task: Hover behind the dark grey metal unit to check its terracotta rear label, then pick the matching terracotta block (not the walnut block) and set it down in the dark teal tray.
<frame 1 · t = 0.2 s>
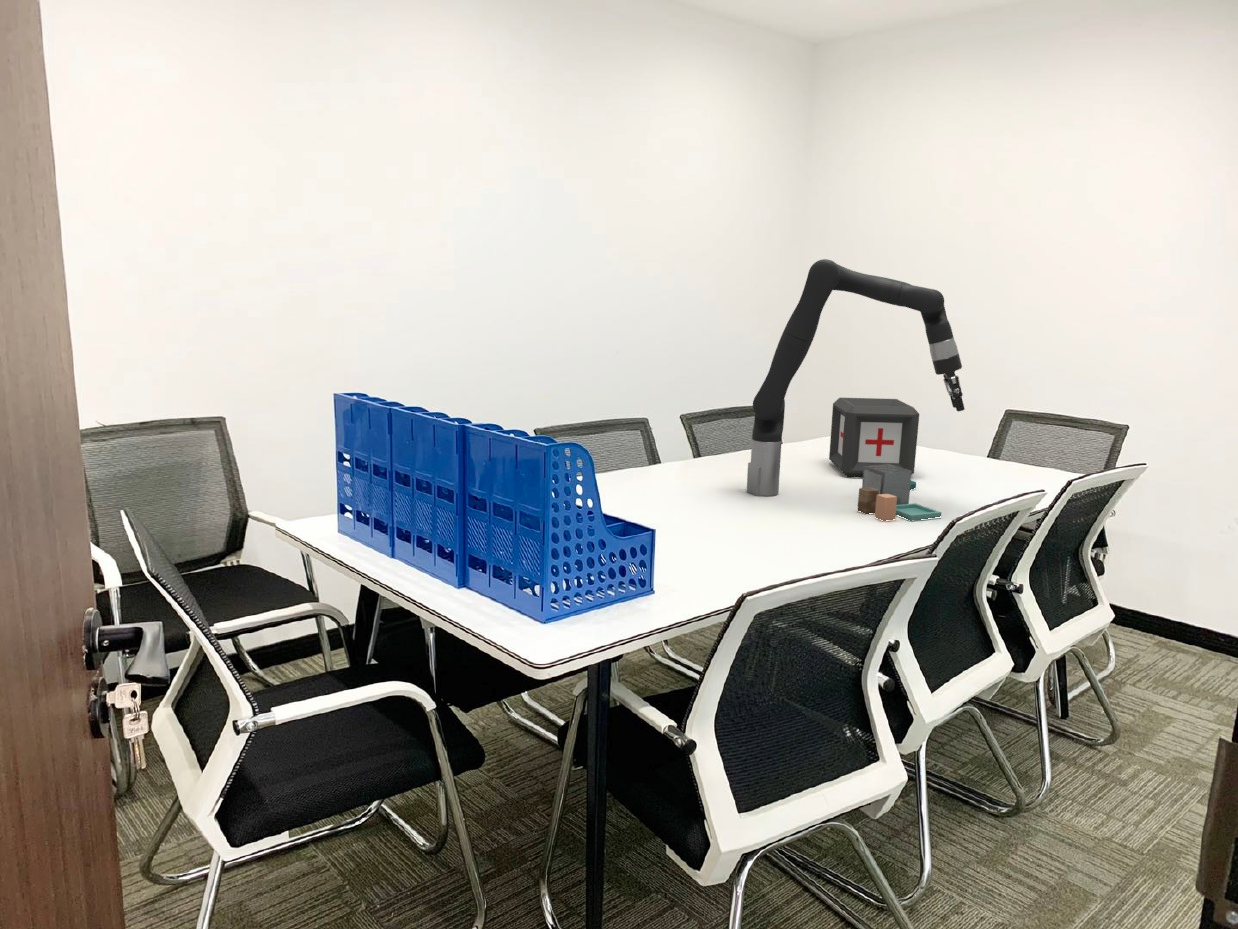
hand: (958, 408, 267), 31 cm above the table, tool tilted 20°, fingers open, 8 cm apart
first aid kit: (869, 472, 323), on the table
grey unit: (884, 503, 279), on the table
teal tray: (912, 515, 266), on the table
terracotta block: (884, 519, 260), on the table
walnut block: (867, 512, 268), on the table
bracket: (895, 491, 296), on the table
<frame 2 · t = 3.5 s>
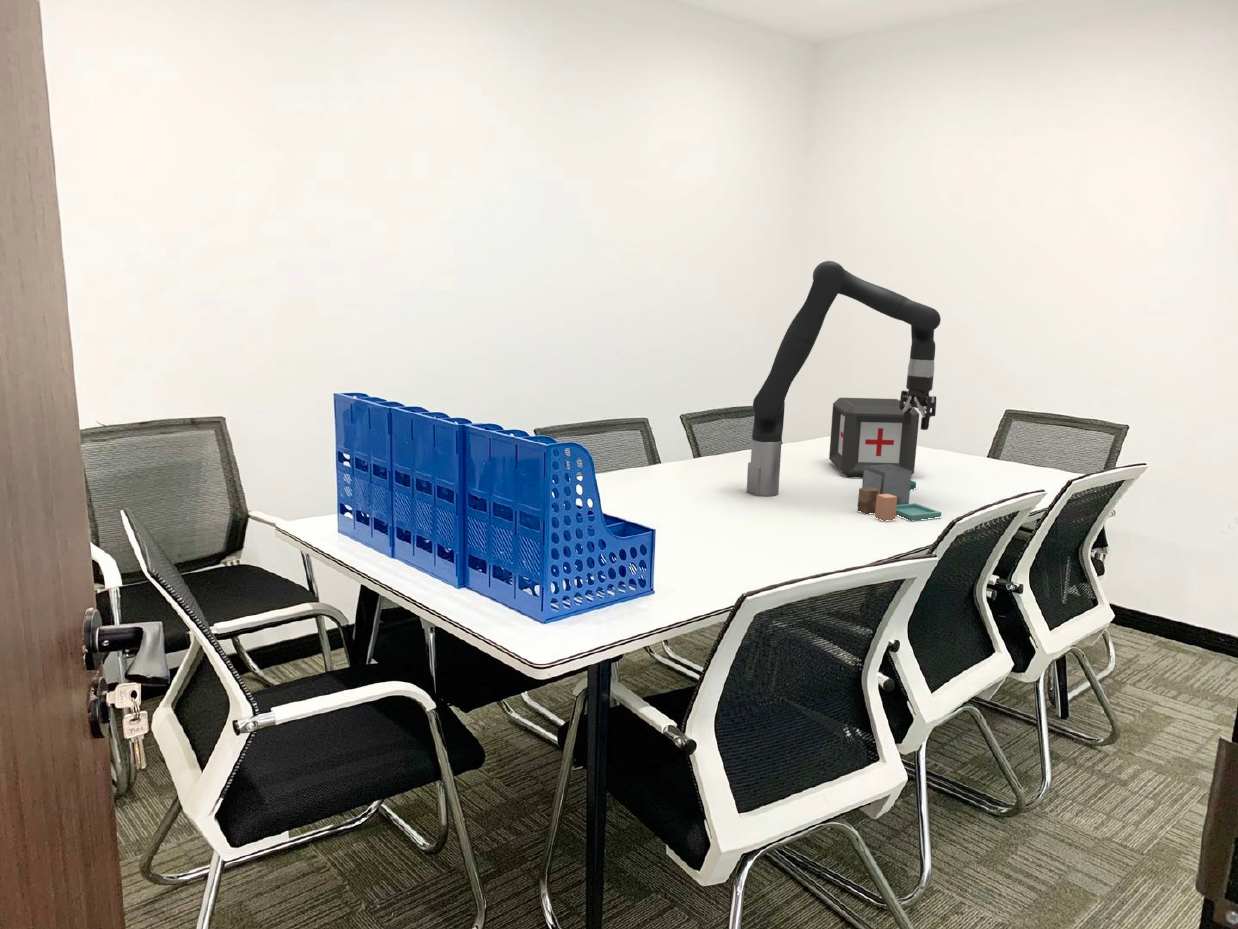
hand: (915, 427, 276), 23 cm above the table, tool pointing down, fingers open, 8 cm apart
nothing on the table moved.
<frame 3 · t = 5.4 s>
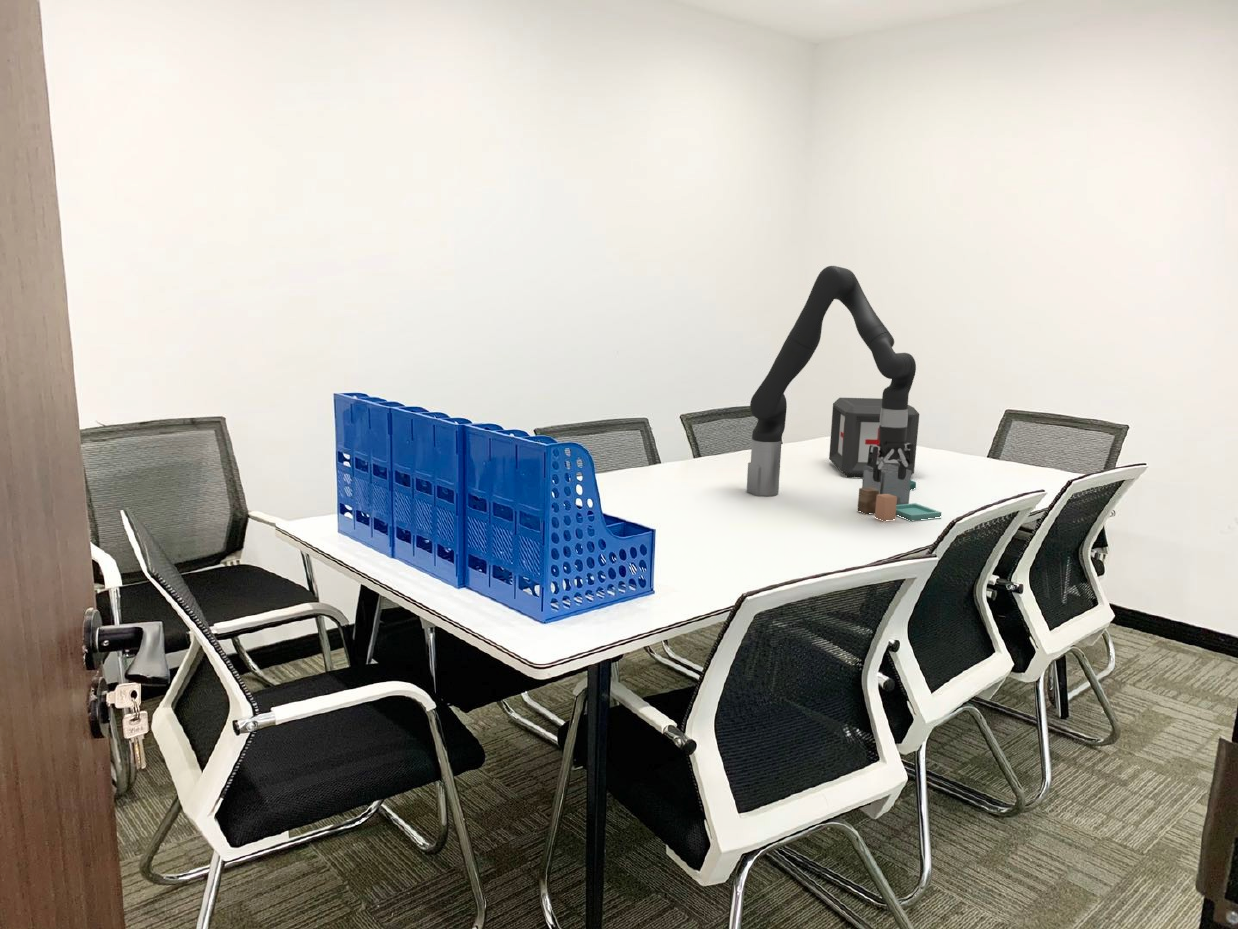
hand: (889, 480, 258), 11 cm above the table, tool pointing down, fingers open, 8 cm apart
nothing on the table moved.
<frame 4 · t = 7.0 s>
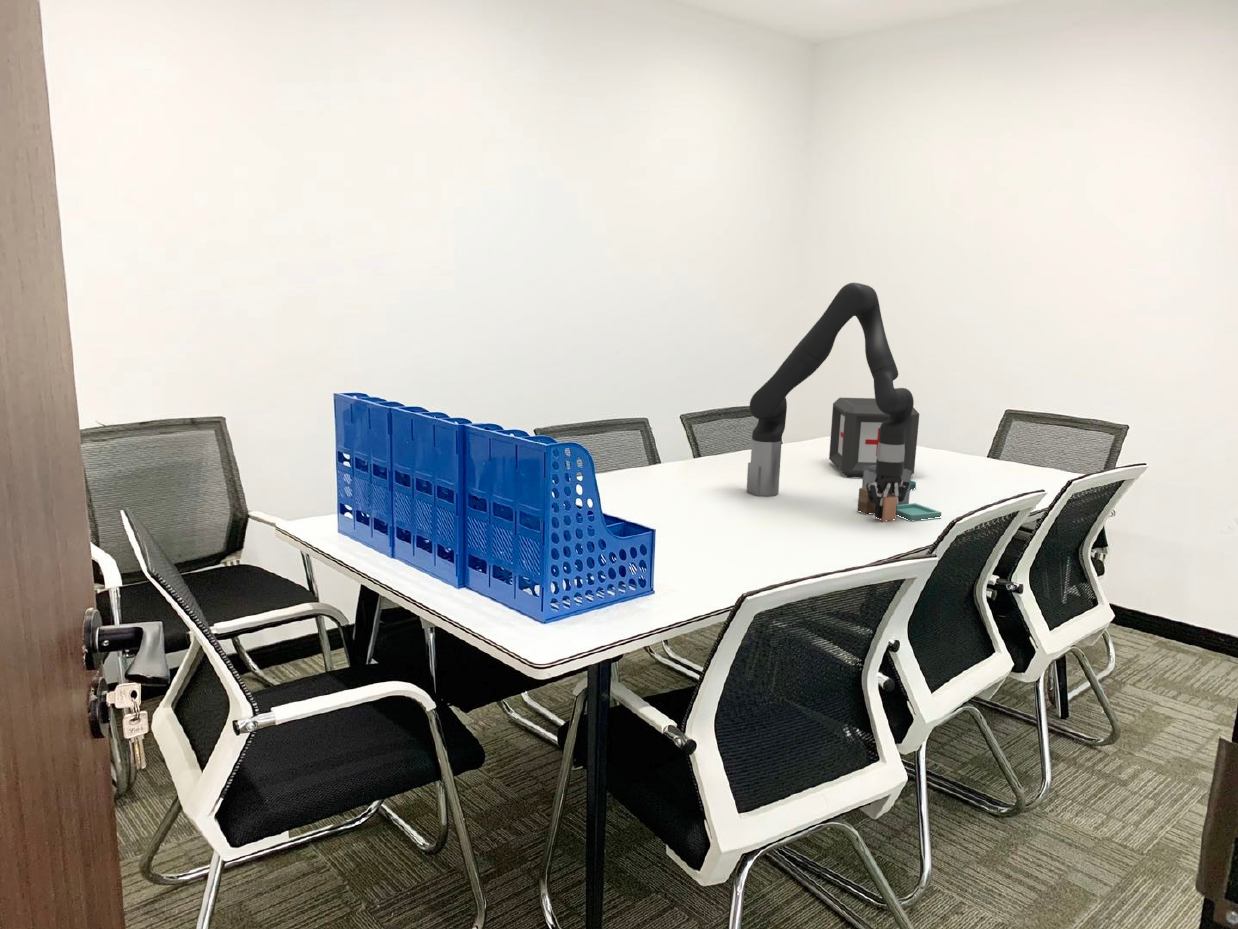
hand: (885, 516, 260), 1 cm above the table, tool pointing down, fingers closed on terracotta block, 4 cm apart
terracotta block: (884, 519, 260), on the table, touching gripper
everything else where it was.
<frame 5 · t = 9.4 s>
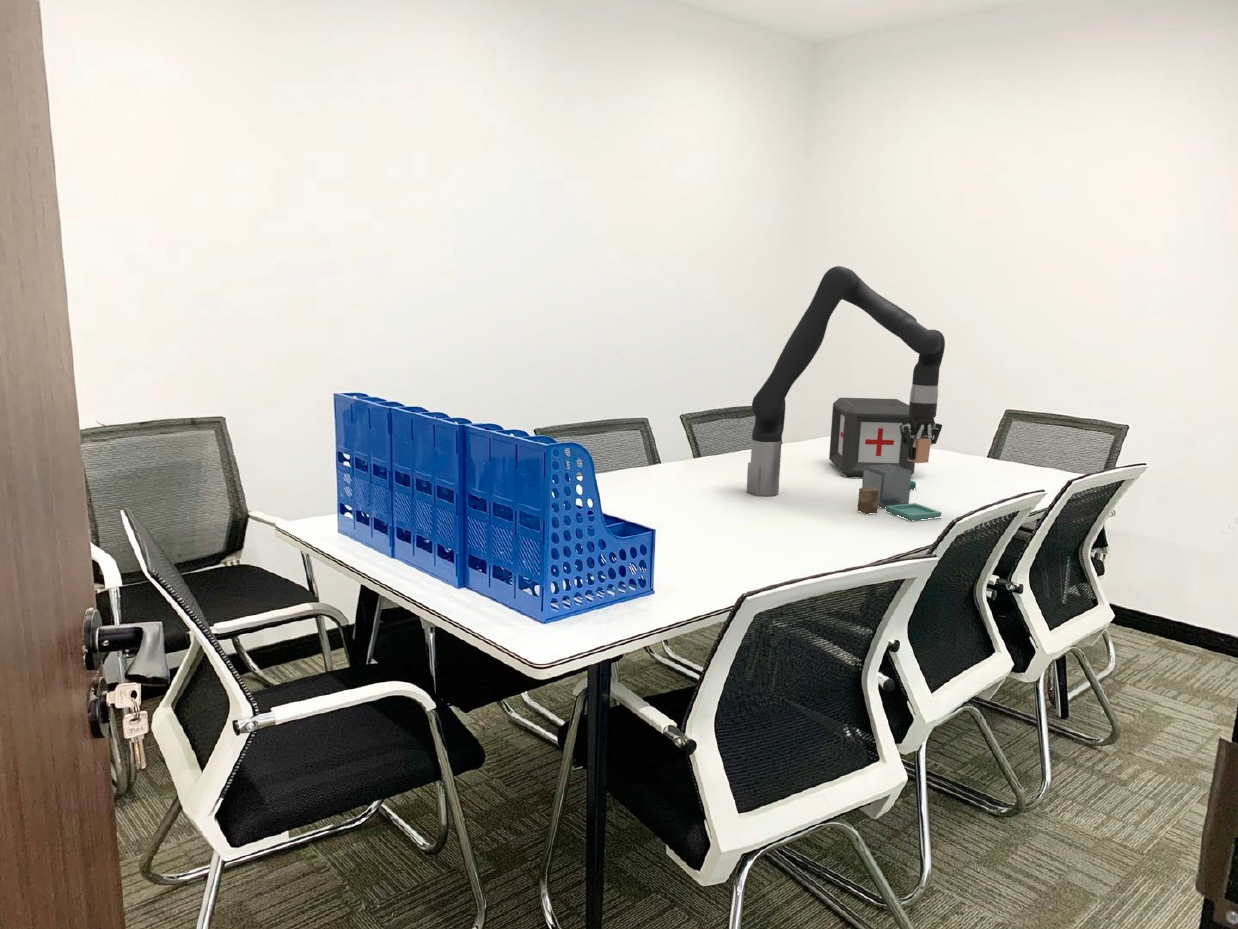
hand: (918, 458, 262), 17 cm above the table, tool pointing down, fingers closed on terracotta block, 4 cm apart
terracotta block: (917, 461, 262), point 16 cm above the table, touching gripper
everything else where it was.
when the fingers open (3 cm above the table, at t = 12.2 s): terracotta block drops 2 cm, resting on teal tray.
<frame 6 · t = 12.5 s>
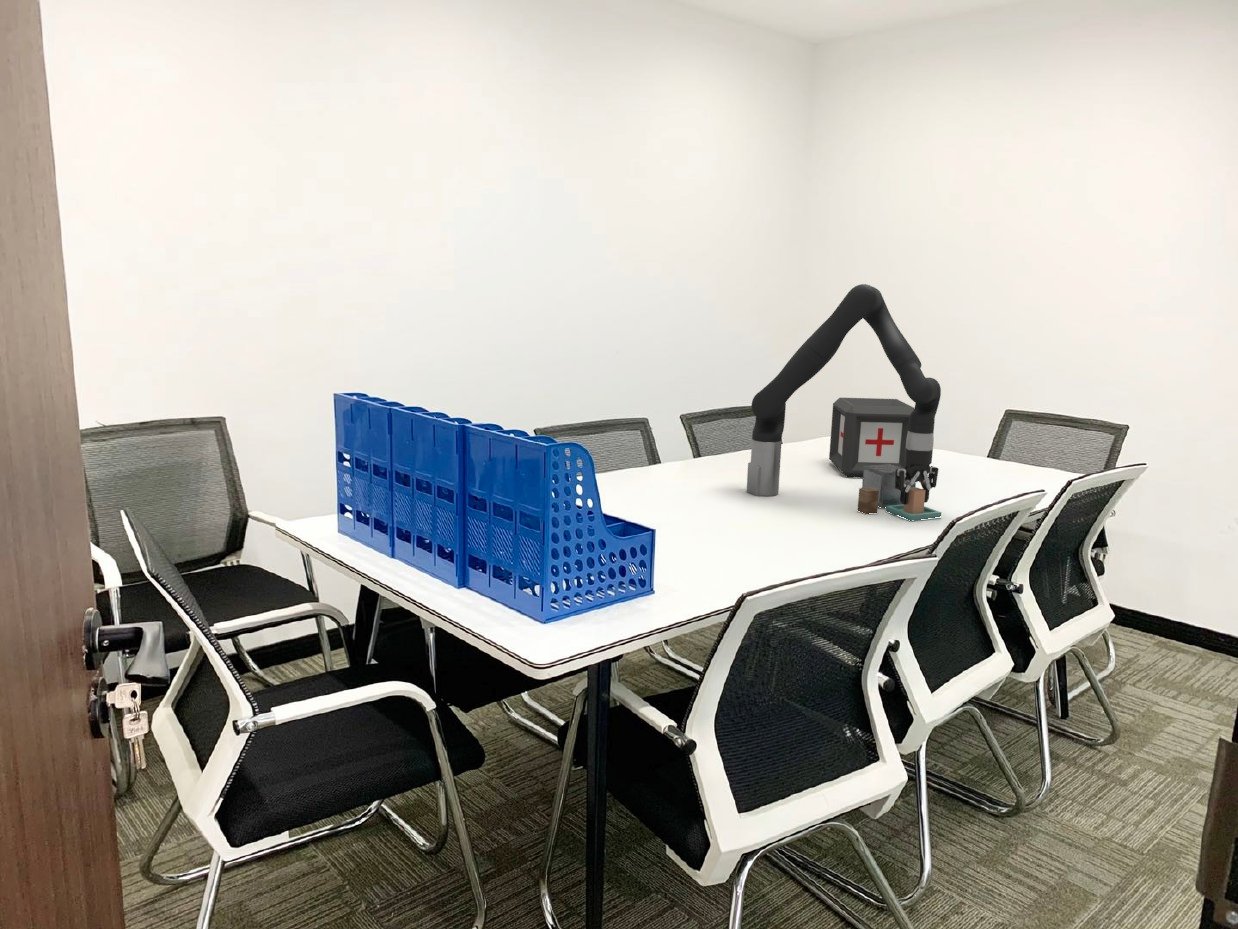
hand: (914, 502, 265), 4 cm above the table, tool pointing down, fingers open, 6 cm apart
terracotta block: (913, 512, 265), point 1 cm above the table, touching teal tray
everything else where it was.
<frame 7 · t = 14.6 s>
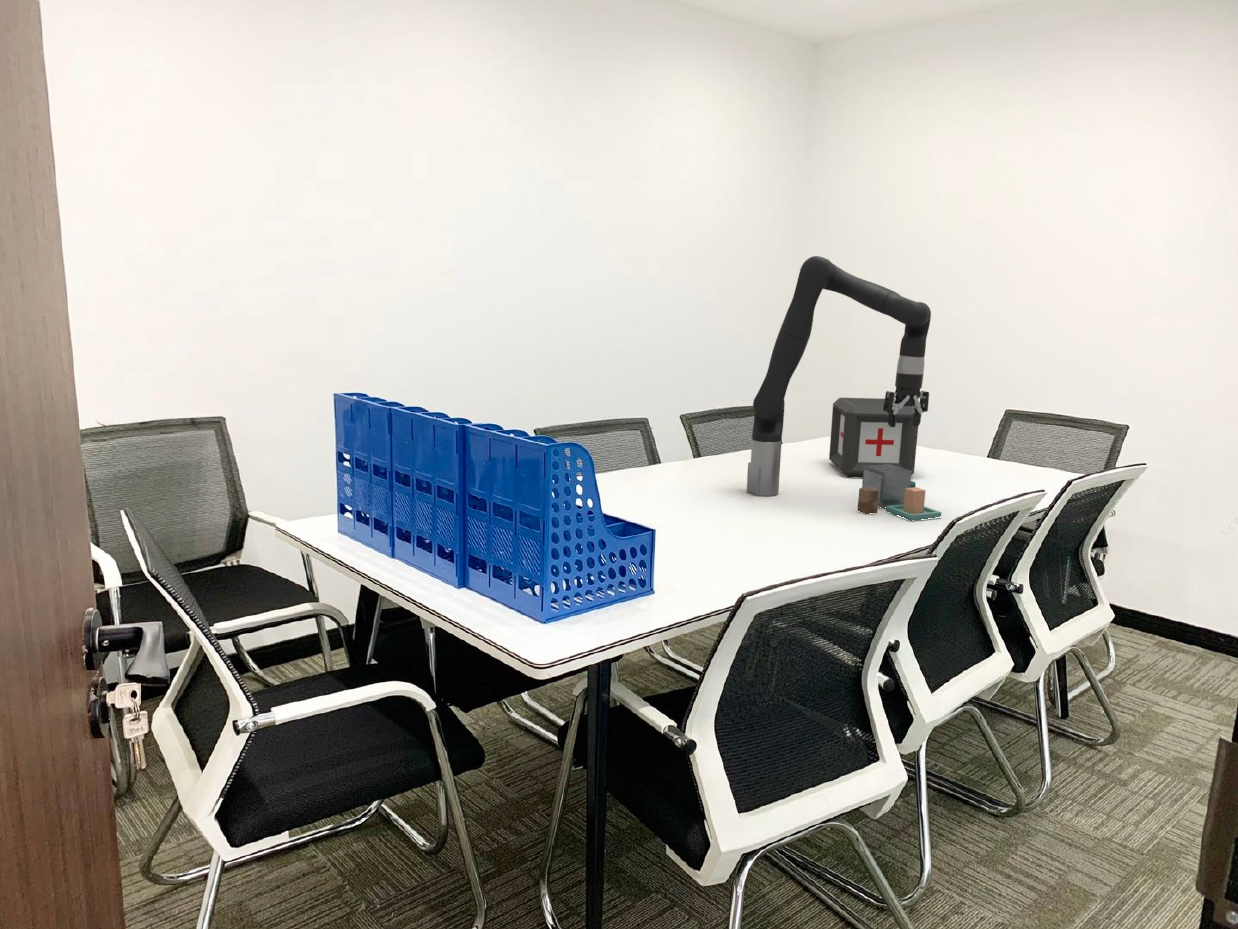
hand: (903, 426, 267), 25 cm above the table, tool pointing down, fingers open, 8 cm apart
nothing on the table moved.
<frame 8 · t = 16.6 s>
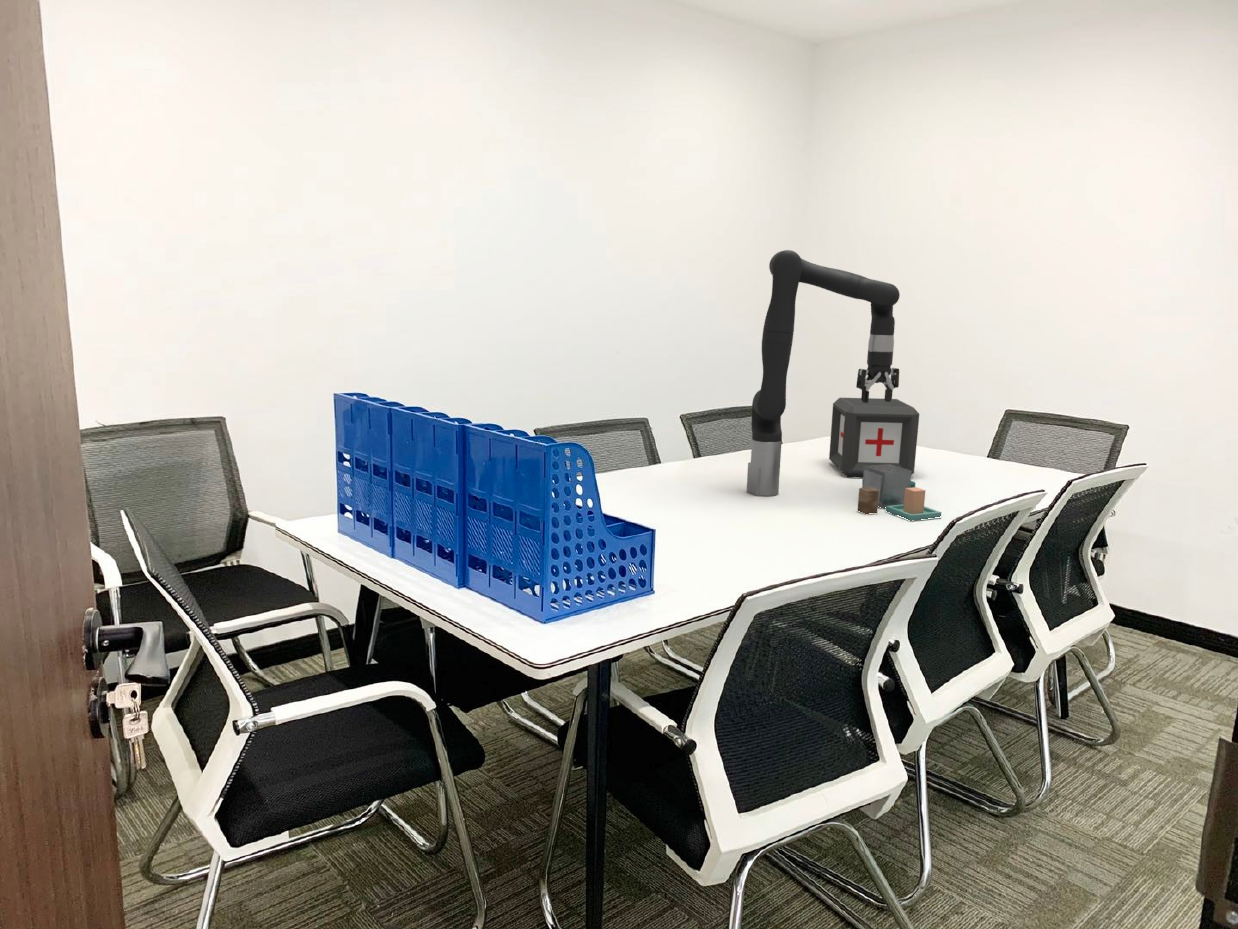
hand: (876, 402, 281), 30 cm above the table, tool pointing down, fingers open, 8 cm apart
nothing on the table moved.
at the end: terracotta block inside the target area on the teal tray (0.0 cm from its centre), point 0.8 cm above the teal tray's base; terracotta block tilted 0°; walnut block moved 0.1 cm from its start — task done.
